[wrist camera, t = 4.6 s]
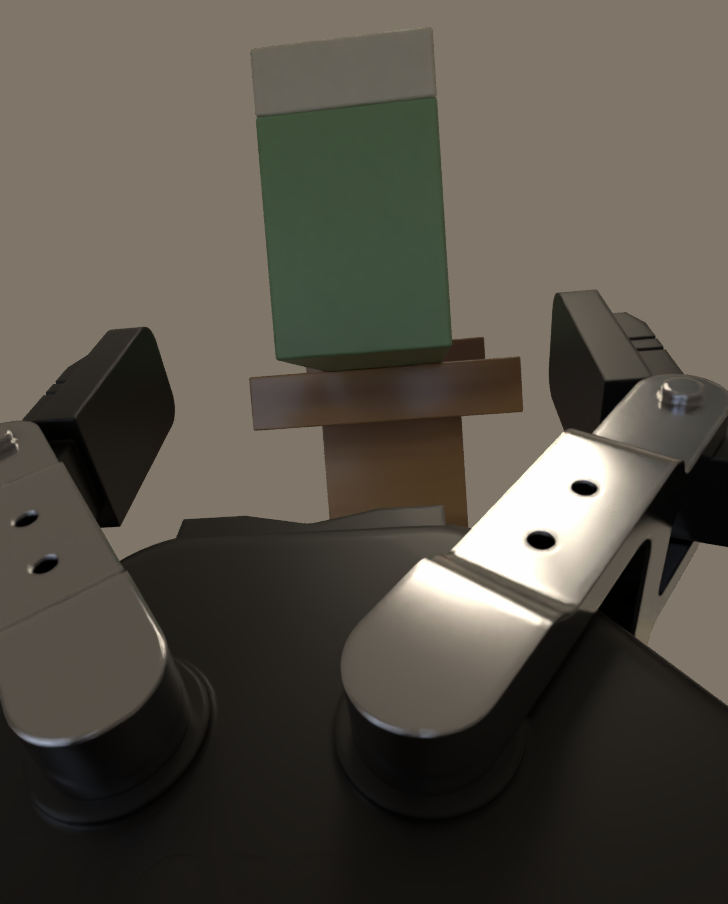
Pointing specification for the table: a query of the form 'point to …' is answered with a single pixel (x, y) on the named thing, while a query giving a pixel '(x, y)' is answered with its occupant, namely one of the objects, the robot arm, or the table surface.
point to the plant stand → (393, 425)
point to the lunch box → (353, 200)
